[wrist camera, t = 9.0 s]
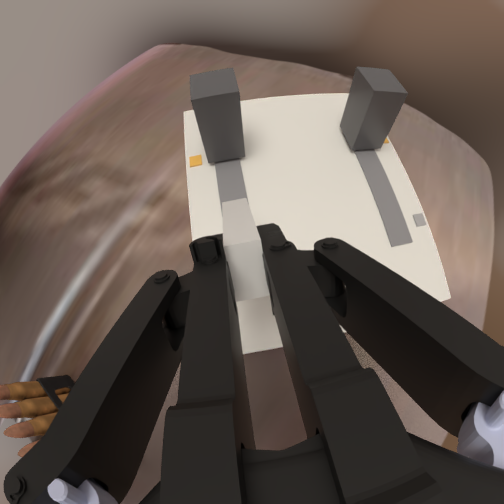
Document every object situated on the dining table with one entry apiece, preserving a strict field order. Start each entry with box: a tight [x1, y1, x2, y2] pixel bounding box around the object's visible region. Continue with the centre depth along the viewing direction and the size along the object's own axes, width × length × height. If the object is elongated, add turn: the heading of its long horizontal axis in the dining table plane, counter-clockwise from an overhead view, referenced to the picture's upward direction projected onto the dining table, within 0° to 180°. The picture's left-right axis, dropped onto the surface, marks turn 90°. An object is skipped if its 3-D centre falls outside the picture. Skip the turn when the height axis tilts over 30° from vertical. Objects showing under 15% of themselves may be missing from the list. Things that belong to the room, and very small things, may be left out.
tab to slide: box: [190, 68, 245, 163], centre depth 22 cm, size 4×4×8 cm
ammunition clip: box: [0, 375, 75, 457], centre depth 14 cm, size 11×2×12 cm, turn 52°
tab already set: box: [340, 67, 408, 150], centre depth 22 cm, size 4×4×8 cm
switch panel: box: [184, 93, 451, 354], centre depth 25 cm, size 26×22×2 cm
